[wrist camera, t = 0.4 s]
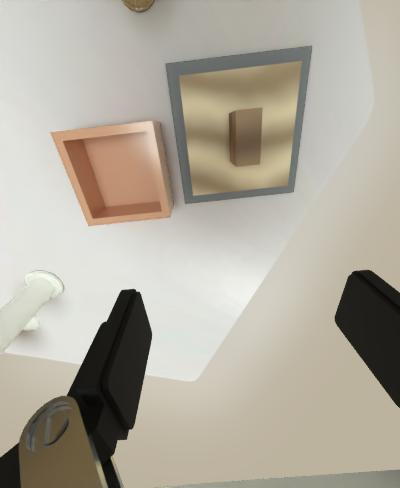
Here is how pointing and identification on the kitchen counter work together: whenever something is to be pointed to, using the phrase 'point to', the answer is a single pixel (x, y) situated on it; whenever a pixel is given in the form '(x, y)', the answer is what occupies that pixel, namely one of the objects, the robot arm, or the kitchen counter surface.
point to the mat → (227, 64)
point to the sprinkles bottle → (138, 4)
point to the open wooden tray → (117, 171)
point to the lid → (240, 126)
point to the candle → (27, 304)
